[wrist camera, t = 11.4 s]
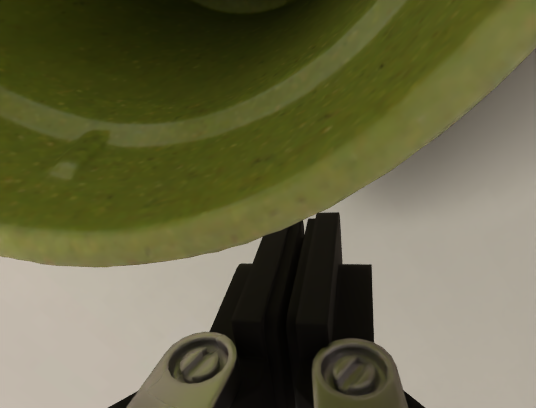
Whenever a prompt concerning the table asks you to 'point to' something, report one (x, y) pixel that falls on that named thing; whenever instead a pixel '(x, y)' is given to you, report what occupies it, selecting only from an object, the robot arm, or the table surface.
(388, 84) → the plant pot
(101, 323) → the table surface
